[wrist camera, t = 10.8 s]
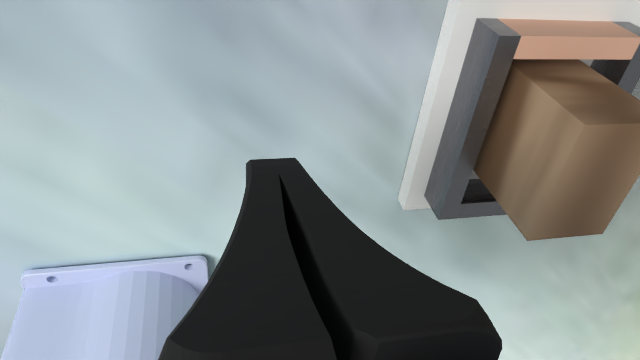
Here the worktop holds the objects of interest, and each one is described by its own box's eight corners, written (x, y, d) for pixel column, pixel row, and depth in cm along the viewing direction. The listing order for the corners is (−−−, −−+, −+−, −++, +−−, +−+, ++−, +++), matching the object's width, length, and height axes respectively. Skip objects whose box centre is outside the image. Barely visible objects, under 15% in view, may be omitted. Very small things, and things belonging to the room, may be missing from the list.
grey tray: (397, 199, 28) (416, 234, 26) (452, -14, 21) (484, 9, 18) (546, 189, 30) (575, 221, 28) (641, -6, 23) (692, 16, 21)
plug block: (467, 162, 26) (527, 240, 21) (503, 57, 22) (585, 125, 18) (531, 159, 27) (602, 233, 22) (577, 58, 23) (672, 122, 19)
